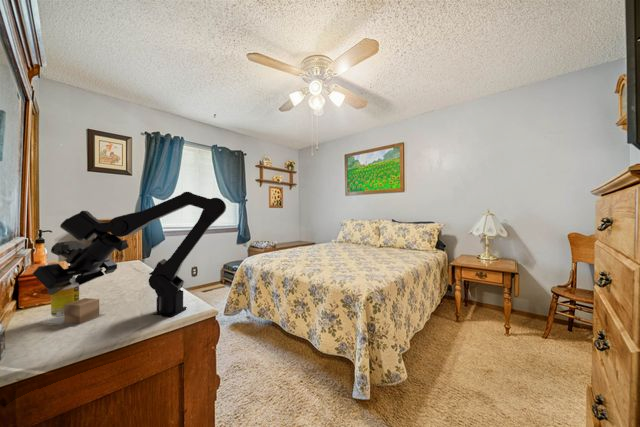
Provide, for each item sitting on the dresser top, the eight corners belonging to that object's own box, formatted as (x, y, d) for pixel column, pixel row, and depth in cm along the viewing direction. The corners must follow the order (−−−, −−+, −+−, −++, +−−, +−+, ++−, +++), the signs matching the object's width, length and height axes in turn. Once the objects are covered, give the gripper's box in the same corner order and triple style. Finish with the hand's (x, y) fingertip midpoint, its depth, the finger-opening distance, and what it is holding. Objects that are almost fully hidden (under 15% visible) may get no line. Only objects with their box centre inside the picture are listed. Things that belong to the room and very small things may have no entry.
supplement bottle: (78, 313, 68) (77, 277, 68) (48, 319, 65) (48, 281, 65) (80, 308, 73) (80, 274, 73) (53, 313, 69) (53, 277, 69)
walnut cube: (99, 316, 70) (99, 299, 70) (79, 323, 65) (79, 305, 65) (84, 315, 71) (84, 298, 71) (64, 322, 66) (64, 304, 66)
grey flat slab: (106, 315, 71) (106, 314, 71) (74, 328, 63) (74, 326, 63) (71, 313, 73) (71, 311, 73) (37, 325, 65) (37, 323, 65)
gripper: (108, 229, 78) (75, 263, 78) (39, 234, 59) (-4, 279, 60) (132, 253, 78) (99, 288, 78) (71, 265, 59) (27, 310, 59)
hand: (60, 290), depth 69 cm, fingers closed on supplement bottle, 5 cm apart
